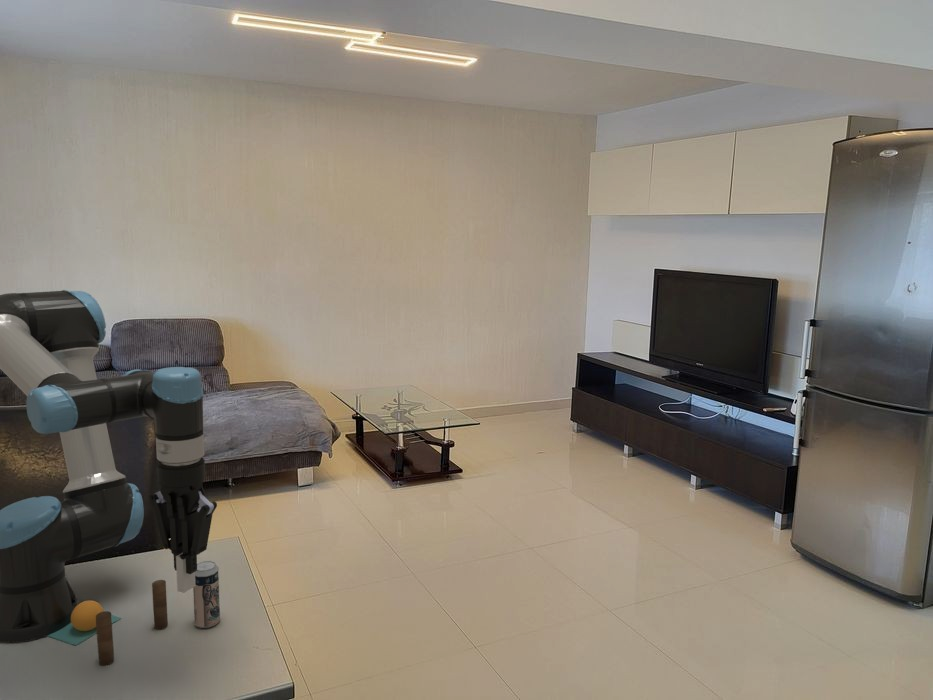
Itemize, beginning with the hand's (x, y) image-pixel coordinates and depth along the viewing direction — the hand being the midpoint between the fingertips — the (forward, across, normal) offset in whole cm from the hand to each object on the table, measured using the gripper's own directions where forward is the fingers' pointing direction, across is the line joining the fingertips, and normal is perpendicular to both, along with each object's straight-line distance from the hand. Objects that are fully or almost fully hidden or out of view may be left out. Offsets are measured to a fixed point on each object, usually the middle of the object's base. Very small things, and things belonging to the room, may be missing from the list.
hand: (186, 588), depth 122 cm
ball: (+11, -25, 0) cm, 27 cm away
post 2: (+14, -13, +6) cm, 20 cm away
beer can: (+14, -6, +11) cm, 19 cm away
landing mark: (+14, -27, 0) cm, 30 cm away
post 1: (+14, -13, -6) cm, 20 cm away
